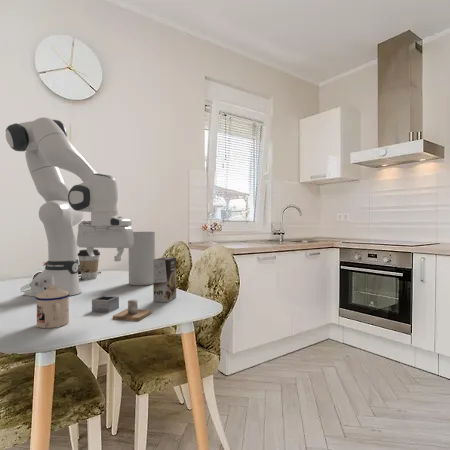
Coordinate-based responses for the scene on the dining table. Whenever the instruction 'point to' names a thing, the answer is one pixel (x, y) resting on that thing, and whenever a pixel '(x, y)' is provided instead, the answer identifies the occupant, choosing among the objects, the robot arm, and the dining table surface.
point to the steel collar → (105, 304)
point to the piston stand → (132, 312)
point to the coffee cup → (88, 264)
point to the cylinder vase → (142, 259)
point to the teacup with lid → (52, 308)
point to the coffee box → (164, 279)
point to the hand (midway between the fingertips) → (105, 260)
